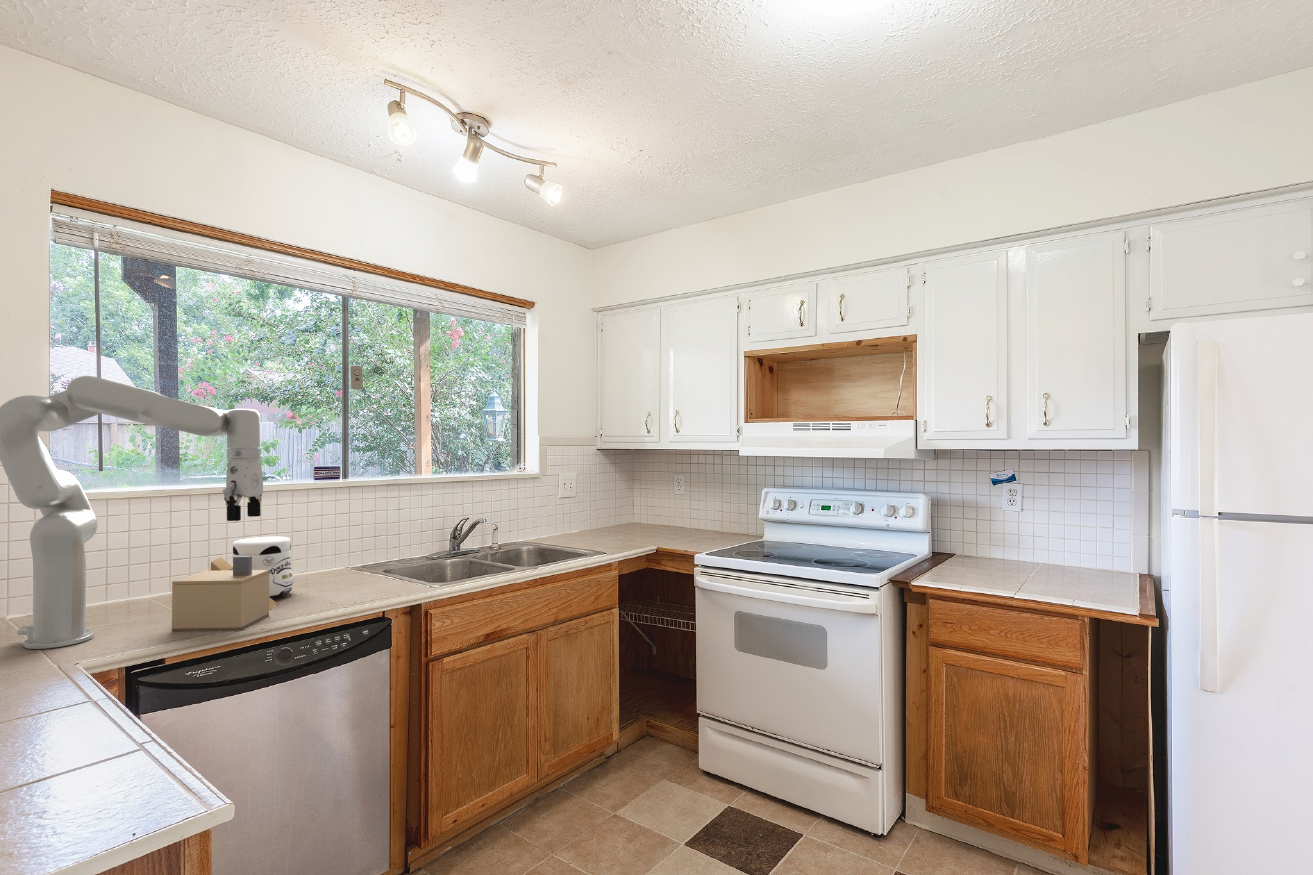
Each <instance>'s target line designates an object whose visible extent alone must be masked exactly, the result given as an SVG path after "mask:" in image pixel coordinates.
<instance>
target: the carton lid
mask: <svg viewBox="0 0 1313 875" xmlns="http://www.w3.org/2000/svg"><path fill="white" fill-rule="evenodd" d="M232 567H233V570H220V571H211V570H203V571H200V572H197V573H194V574H191V575H188V576H185V577H182V578H179V579H176V580H173V581H171V585H173V584H242V583H244V582H247V581H249V580H252V579H255V578H257V577H260V576H262V575H265V574H268V573H269V570H252V556H235V557H233V556H232Z"/></svg>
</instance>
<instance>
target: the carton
mask: <svg viewBox="0 0 1313 875" xmlns="http://www.w3.org/2000/svg"><path fill="white" fill-rule="evenodd" d="M268 617H270V610H269V573H268V574H265V575H262V576H260V577H257V578H255V579H252V580H249V581H247V582H244V583H242V584H171V632H172V633H174V632H181V633H182V632H226V631H227V632H229V631H234V632H235V631H237V632H239V631H240V632H241V631H243V630H245V629H247V628H249V627H251V626H253V625H255V624H256V623H258V622H260V620H261V621H262V620H264V619H266V618H268Z"/></svg>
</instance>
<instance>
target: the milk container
mask: <svg viewBox="0 0 1313 875" xmlns="http://www.w3.org/2000/svg"><path fill="white" fill-rule="evenodd" d="M232 545H233V546H232V558H233V557H235V556H252V570H269V597H270V598H271V599H272V600H273V599H276V598H280V597H283V596H285V595H288V594H289V593H290V592H291V591H292V589H293V587H294V583H295V582H294V579H295V578H294V572H293V569H292V565H291V563H292V562H291V557H292V554H291V553H292V552H291V551H292V550H291V548H292V544H291V537H286V536H259V537H258V536H257V537H249V538H242V539H237V540H235V541H233V544H232Z"/></svg>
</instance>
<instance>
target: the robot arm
mask: <svg viewBox="0 0 1313 875" xmlns="http://www.w3.org/2000/svg"><path fill="white" fill-rule="evenodd" d="M100 414H101V415H106V416H111V417H116V418H120V419H124V420H128V421H131V422H132V421H133V422H136V423H140V424H143V425H144V424H145V425H153V426H158V427H163V428H167V429H171V430H174V431H180V432H185V433H188V434H192V435H196V436H200V437H218V436H226V457H227V458H226V460H227V467H226V480H225V484H226V485H225V487H224V488H223V490H222V493H223V496H224V501H225V506H226V521H227V522H239V521H241V519H242V513H241V512H242V511H241V509H242V508H241V507H242V506H241V502H242V501H241V500H242V499H243V498H247V499H248V501H247V506H246V507H247V513H246V514H247V517H249V518H250V517H252V518H253V517H260V516H261V502H262V496H263V493H264V479H263V478H264V477H263V476H264V475H263V468H262V463H261V429H260V428H261V417H260V416H261V415H260V412H259V411H258V410H256V409H253V408H234V409H229V410H226V409H218V408H214V407H209V406H205V405H201V404H197V403H193V402H189V401H184V400H180V399H177V398H174V397H173V398H172V397H169V396H166V395H163V394H161V393H159V392H156V391H154V390H149V389H145V388H141V387H137V386H133V385H129V384H125V383H123V382H122V383H121V382H117V381H113V380H109V379H105V378H101V377H98V376H91V375H82V376H78V377H76V378H74V379H72V380H71V381H70V382H69V383H68V385H67V387H66V389H65V390H63V391H61V392H57V393H55V394H52V395H49V396H40V395H20V396H17V397H14V398H11V399H9V400H7V401H6V402H4V403H2V405H1V406H0V463H1V465H2V468H3V470H4V472H5V474H6V477H7V478H8V481H9V483H10V484H11V487H12V489H13V491H14V494H15V496H16V498H17V500H18V501H19V502H20V503H21V505H22V506H24V507H26V508H28V509H32V510H39V511H40V512H41V515H42V517H39V519H38V520H37V521H36V522H35V523H34V524H33V526H32V528H31V530H30V535H29V543H30V549H31V558H32V624H23V625H21V627H20V628H19V629H18V630H17V632H16V634H17V635H18V636H19V635H20V636H22V635H27V639H26V640H24V641H23V647H24V648H25V649H29V650H43V649H45V650H46V649H53V648H60V647H66V646H72V645H75V644H79V643H83V642H86V641H88V640H89V641H90V640H91V639H92V638H94V637H95V636H94V635H95V634H94V633H95V632H94V631H93V630H91V629H86V628H87V627H86V623H87V621H86V618H87V615H86V614H87V612H86V611H87V562H86V560H87V559H86V558H87V557H86V552H85V547H84V546H85V543H87V542H88V541H90V540H91V539H92V538H93V537H94V536H95V535H96V533H97V530H98V519H97V516H96V514H95V512H94V510H93V507H92V506H91V503H90V501H89V499H88V497H87V494H86V493H85V491H84V489H83V486H82V485H81V483H80V481H79V480H78V479H77V477H76V476H75V475H74V474H72V473H71V472H69V471H67V470H65V469H61V468H57V467H56V466H55V464H54V462H53V460H52V457H51V455H50V453H49V451H48V448H47V447H46V445H45V444H44V443H43V441H42V440H41V438H40V436H39V435H40V434H39V432H54V431H59V430H62V429H64V428H67V427H69V426H72V425H74V424H77V423H80V422H83V421H84V420H88V419H90V418H93V417H95V416H98V415H100Z"/></svg>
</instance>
